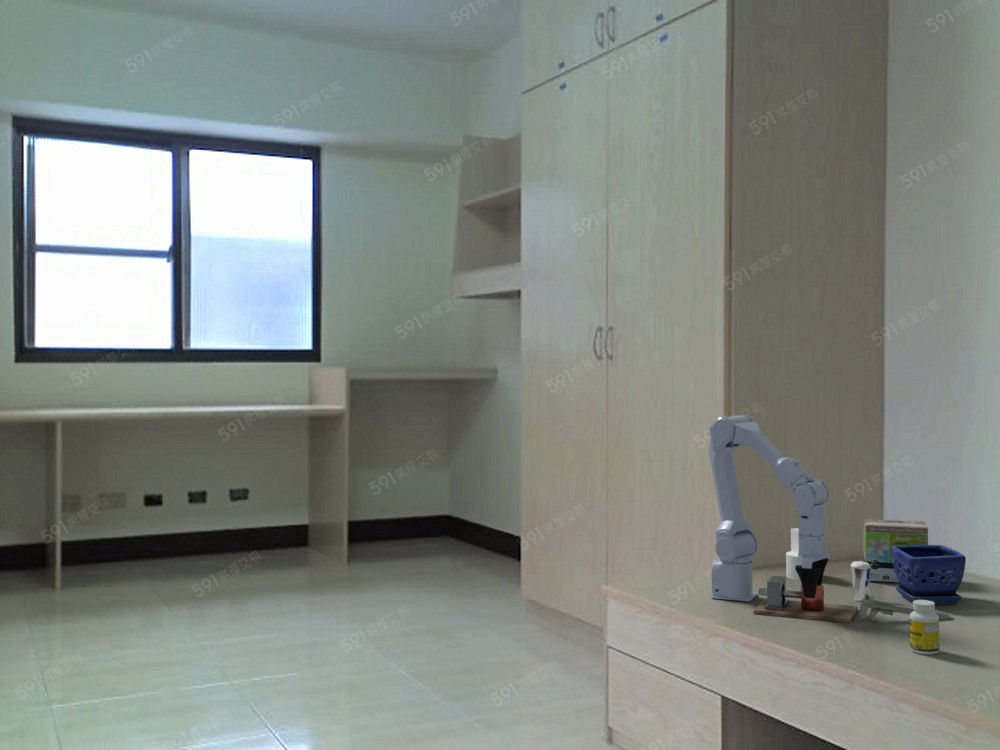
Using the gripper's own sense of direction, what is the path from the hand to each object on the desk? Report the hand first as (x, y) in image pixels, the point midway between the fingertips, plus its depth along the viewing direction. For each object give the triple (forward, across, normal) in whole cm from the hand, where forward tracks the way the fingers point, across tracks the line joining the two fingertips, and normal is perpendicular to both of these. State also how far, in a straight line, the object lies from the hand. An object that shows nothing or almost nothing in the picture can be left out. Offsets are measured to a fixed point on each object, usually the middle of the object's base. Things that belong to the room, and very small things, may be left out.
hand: (812, 593), depth 233 cm
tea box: (+5, +41, -14) cm, 44 cm away
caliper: (+5, +1, -20) cm, 21 cm away
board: (+4, 0, +2) cm, 5 cm away
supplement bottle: (+5, -22, -25) cm, 34 cm away
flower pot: (+5, +21, -23) cm, 31 cm away
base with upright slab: (+4, +36, +8) cm, 37 cm away
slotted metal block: (+3, 0, +8) cm, 9 cm away
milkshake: (+4, +16, -9) cm, 19 cm away
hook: (+3, 0, +5) cm, 6 cm away
